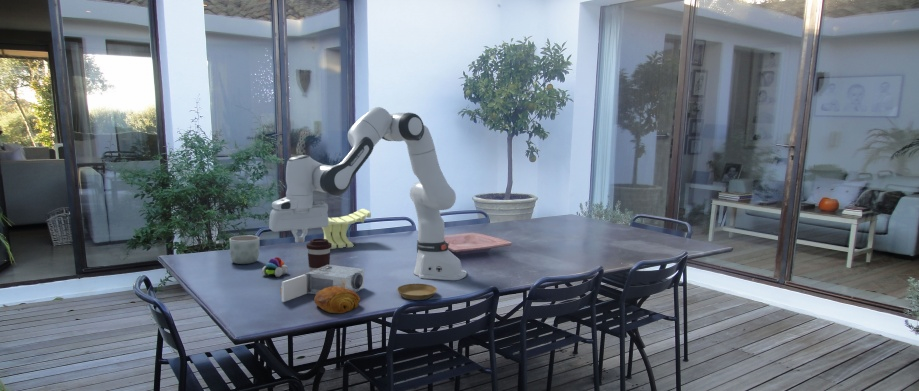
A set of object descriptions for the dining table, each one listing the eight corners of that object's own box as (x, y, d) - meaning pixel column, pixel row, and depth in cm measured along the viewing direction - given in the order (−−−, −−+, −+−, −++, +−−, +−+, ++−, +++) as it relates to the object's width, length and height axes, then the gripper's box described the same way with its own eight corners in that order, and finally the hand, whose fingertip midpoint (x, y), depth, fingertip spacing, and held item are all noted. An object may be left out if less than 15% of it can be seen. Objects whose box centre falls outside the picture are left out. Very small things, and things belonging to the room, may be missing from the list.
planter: (223, 264, 241) (223, 239, 239) (241, 258, 253) (240, 234, 251) (248, 266, 238) (248, 241, 237) (265, 260, 250) (265, 236, 248)
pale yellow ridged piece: (361, 239, 301) (361, 207, 299) (370, 245, 287) (370, 211, 285) (305, 243, 287) (305, 209, 285) (312, 250, 273) (311, 214, 271)
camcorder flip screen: (284, 302, 191) (284, 281, 190) (280, 301, 191) (280, 281, 191) (309, 292, 202) (309, 273, 201) (305, 292, 203) (305, 272, 202)
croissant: (325, 323, 179) (325, 300, 177) (309, 303, 191) (309, 282, 189) (366, 315, 187) (367, 293, 185) (348, 296, 199) (349, 276, 197)
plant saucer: (445, 296, 205) (445, 289, 204) (416, 304, 194) (416, 297, 193) (417, 287, 214) (417, 281, 214) (388, 295, 203) (388, 288, 203)
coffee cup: (305, 273, 229) (305, 238, 227) (329, 272, 233) (329, 237, 231) (307, 279, 220) (307, 243, 218) (333, 278, 223) (333, 241, 222)
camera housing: (366, 288, 210) (367, 268, 210) (347, 298, 197) (348, 277, 196) (327, 283, 216) (327, 263, 215) (306, 292, 203) (306, 272, 202)
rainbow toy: (290, 273, 230) (290, 256, 229) (277, 279, 220) (277, 261, 220) (272, 271, 232) (272, 254, 231) (258, 277, 223) (258, 259, 222)
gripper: (324, 199, 199) (324, 237, 200) (267, 203, 187) (267, 243, 188) (331, 201, 194) (331, 240, 195) (273, 205, 182) (273, 246, 183)
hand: (299, 241), depth 192 cm, fingers closed
